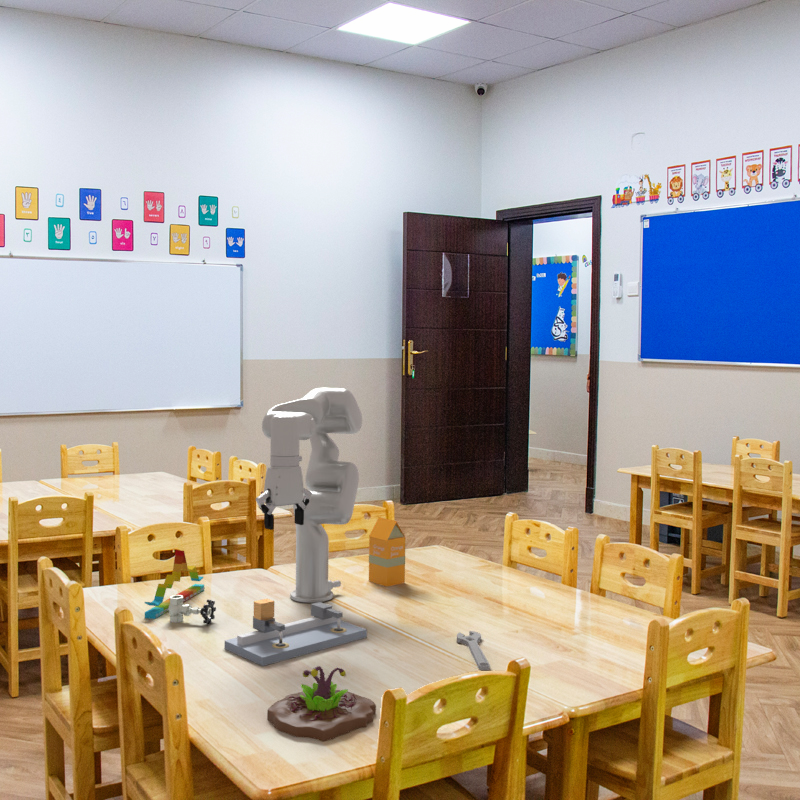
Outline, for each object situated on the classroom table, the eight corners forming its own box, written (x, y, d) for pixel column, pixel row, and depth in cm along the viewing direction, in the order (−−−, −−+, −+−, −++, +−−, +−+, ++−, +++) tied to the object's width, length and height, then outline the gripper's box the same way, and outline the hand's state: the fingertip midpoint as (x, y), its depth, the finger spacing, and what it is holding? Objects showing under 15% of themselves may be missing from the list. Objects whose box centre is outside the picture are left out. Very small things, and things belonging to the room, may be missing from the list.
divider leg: (264, 631, 225) (264, 597, 225) (288, 641, 218) (289, 606, 217) (251, 635, 222) (251, 600, 222) (275, 645, 215) (275, 609, 215)
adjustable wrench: (491, 672, 208) (491, 665, 208) (463, 672, 208) (463, 665, 208) (479, 637, 233) (479, 630, 233) (454, 637, 233) (455, 630, 233)
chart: (155, 620, 243) (155, 565, 242) (144, 619, 244) (144, 564, 243) (205, 591, 273) (205, 541, 272) (195, 590, 274) (195, 541, 273)
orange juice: (386, 577, 292) (387, 515, 290) (405, 582, 285) (406, 519, 284) (368, 581, 286) (369, 518, 285) (386, 586, 280) (387, 522, 279)
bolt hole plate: (327, 622, 242) (327, 596, 242) (366, 637, 231) (367, 610, 230) (224, 648, 220) (224, 620, 220) (262, 666, 209) (262, 636, 208)
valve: (163, 624, 239) (205, 628, 237) (163, 599, 239) (205, 603, 236) (175, 616, 246) (216, 620, 243) (175, 592, 245) (216, 596, 243)
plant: (249, 723, 178) (249, 667, 177) (312, 693, 194) (312, 641, 193) (330, 749, 167) (331, 690, 166) (389, 714, 183) (390, 660, 182)
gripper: (302, 458, 246) (301, 520, 247) (249, 462, 234) (248, 528, 235) (319, 460, 241) (319, 524, 242) (265, 465, 229) (265, 533, 230)
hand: (284, 526), depth 238 cm, fingers open, 9 cm apart
